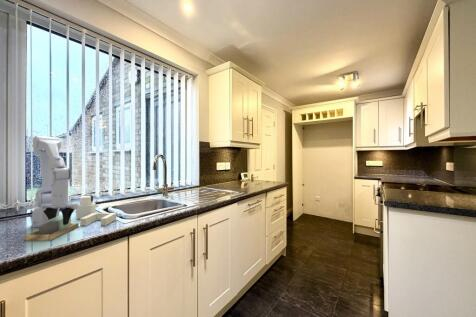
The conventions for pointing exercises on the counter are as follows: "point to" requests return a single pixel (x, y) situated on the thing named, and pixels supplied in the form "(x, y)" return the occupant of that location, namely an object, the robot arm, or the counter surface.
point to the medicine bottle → (85, 206)
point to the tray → (36, 237)
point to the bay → (98, 218)
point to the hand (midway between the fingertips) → (59, 224)
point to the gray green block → (53, 226)
